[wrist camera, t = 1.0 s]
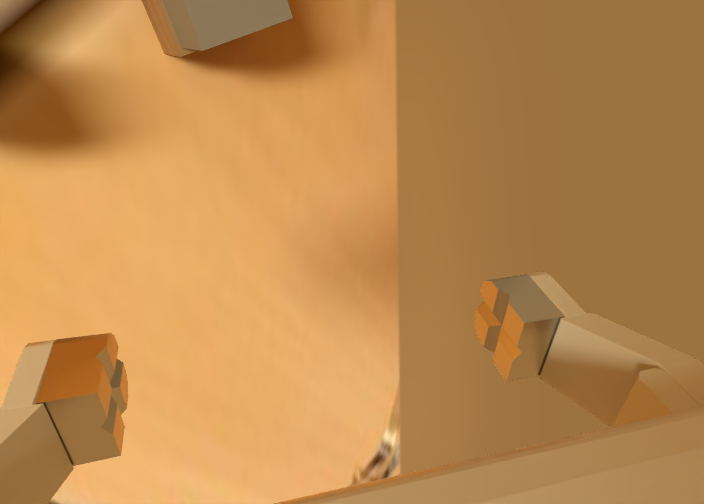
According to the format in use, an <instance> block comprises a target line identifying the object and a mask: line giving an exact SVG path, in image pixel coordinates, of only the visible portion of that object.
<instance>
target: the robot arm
mask: <svg viewBox="0 0 704 504" xmlns="http://www.w3.org/2000/svg"><path fill="white" fill-rule="evenodd" d="M480 295H481V297H482V298H483V300H484V301H483V302H482V303H481V304H480V305H479V306H478V307H477V309H476V313H475V319H474V320H475V330H476V333H477V336H478V338H479V340H480V342H481V343H482V345H483V346H484V347H485V348H487V349H488V350H490V351H492V352H494V356H493V362H494V364H495V365H496V366H497V368H498V370H499V371H500V373H501V374H502V376H503V377H504V379H505V380H506V382H508V381H514V380H519V379H526V378H532V377H539V376H540V379H541V380H543V381H544V382H546V383H547V384H549V385H550V386H552V387H553V388H554V389H556V390H557V391H559V392H560V393H562V394H563V395H565V396H566V397H568V398H569V399H570V400H572V401H573V402H575V403H576V404H578V405H579V406H581V407H582V408H584V409H585V410H587V411H588V412H589V413H591V414H592V415H594V416H595V417H597V418H598V419H600V420H601V421H602V422H604V423H605V424H607V425H608V426H610V427H611V428H606V429H602V430H598V431H594V432H588V433H585V434H580V435H576V436H571V437H566V438H562V439H557V440H553V441H549V442H544V443H540V444H536V445H531V446H527V447H522V448H518V449H513V450H509V451H505V452H501V453H496V454H491V455H487V456H483V457H478V458H474V459H470V460H465V461H461V462H456V463H452V464H447V465H443V466H439V467H434V468H430V469H425V470H421V471H417V472H412V473H408V474H403V475H399V476H394V477H390V478H385V479H381V480H377V481H372V482H368V483H363V484H359V485H354V486H350V487H346V488H341V489H337V490H332V491H328V492H323V493H319V494H314V495H310V496H306V497H301V498H297V499H292V500H288V501H283V502H279V503H275V504H704V366H703V365H702V364H701V363H700V362H699V361H698V360H697V359H695V358H693V357H691V356H688V355H686V354H684V353H682V352H679V351H677V350H675V349H673V348H670V347H668V346H666V345H663V344H661V343H659V342H657V341H654V340H652V339H650V338H648V337H645V336H643V335H641V334H638V333H636V332H634V331H632V330H630V329H627V328H625V327H623V326H620V325H618V324H616V323H614V322H611V321H609V320H607V319H605V318H602V317H600V316H598V315H595V314H593V313H590V314H586V313H585V312H584V311H583V310H582V309H581V308H580V307H579V305H578V304H577V303H576V302H575V301H574V300H573V299H572V298H571V297H570V296H569V295H568V294H567V293H566V292H565V291H564V290H563V289H562V288H561V287H560V286H559V285H558V283H557V282H556V281H555V280H554V279H553V278H552V277H551V276H550V275H549V274H547V273H545V272H537V273H531V274H525V275H520V276H514V277H507V278H500V279H493V280H486V281H485V282H484V283H483V285H482V287H481V291H480ZM117 352H118V345H117V342H116V339H115V336H114V335H113V334H111V333H107V334H99V335H90V336H82V337H73V338H65V339H57V340H52V341H44V342H35V343H28V344H27V345H26V346H25V347H24V349H23V350H22V353H21V356H20V358H19V361H18V364H17V366H16V369H15V372H14V374H13V377H12V380H11V382H10V385H9V388H8V390H7V393H6V396H5V399H4V401H3V404H2V407H1V409H0V504H48V502H49V501H50V500H51V498H52V497H53V496H54V494H55V493H56V492H57V490H58V489H59V488H60V486H61V485H62V483H63V482H64V481H65V479H66V478H67V477H68V475H69V474H70V473H71V471H72V470H73V469H74V468H73V466H75V465H80V464H84V463H89V462H94V461H98V460H103V459H107V458H112V457H117V456H121V451H122V443H123V435H124V428H125V426H124V423H123V420H122V417H121V414H122V413H123V412H124V411H125V410H126V409H127V402H128V381H127V375H126V370H125V367H124V364H123V362H121V361H120V360H118V359H117Z"/></svg>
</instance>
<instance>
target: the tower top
mask: <svg viewBox="0 0 704 504" xmlns="http://www.w3.org/2000/svg"><path fill="white" fill-rule="evenodd" d="M163 2H164V5H165V7H166V10H167V12H168V15H169V17H170V20H171V22H172V24H173V27H174V29H175V32H176V34H177V37H178V39H179V42H180V44H181V46H182V48H186V49H193V50H200V51H204V50H207V49H209V48H212V47H215V46H218V45H220V44H223V43H226V42H229V41H231V40H234V39H237V38H240V37H242V36H245V35H248V34H251V33H253V32H256V31H259V30H262V29H264V28H267V27H270V26H273V25H275V24H278V23H281V22H284V21H286V20H289V19H292V18H293V17H292V14H291V10H290V7H289V3H288V0H163Z"/></svg>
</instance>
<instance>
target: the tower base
mask: <svg viewBox="0 0 704 504" xmlns="http://www.w3.org/2000/svg"><path fill="white" fill-rule="evenodd" d="M142 2H143V4H144V7H145V9H146V11H147V14H148V16H149V19H150V21H151V23H152V26H153V28H154V30H155V33H156V35H157V37H158V40H159V42H160V44H161V47H162V49H163V51H164V54H168V55H173V56H178V57H182V56H185V55H188V54H190V53H193V52H196V51H199V50H193V49H186V48H182V46H181V44H180V42H179V39H178V37H177V34H176V32H175V29H174V27H173V24H172V22H171V20H170V17H169V15H168V12H167V10H166V7H165V5H164V2H163V0H142Z"/></svg>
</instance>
